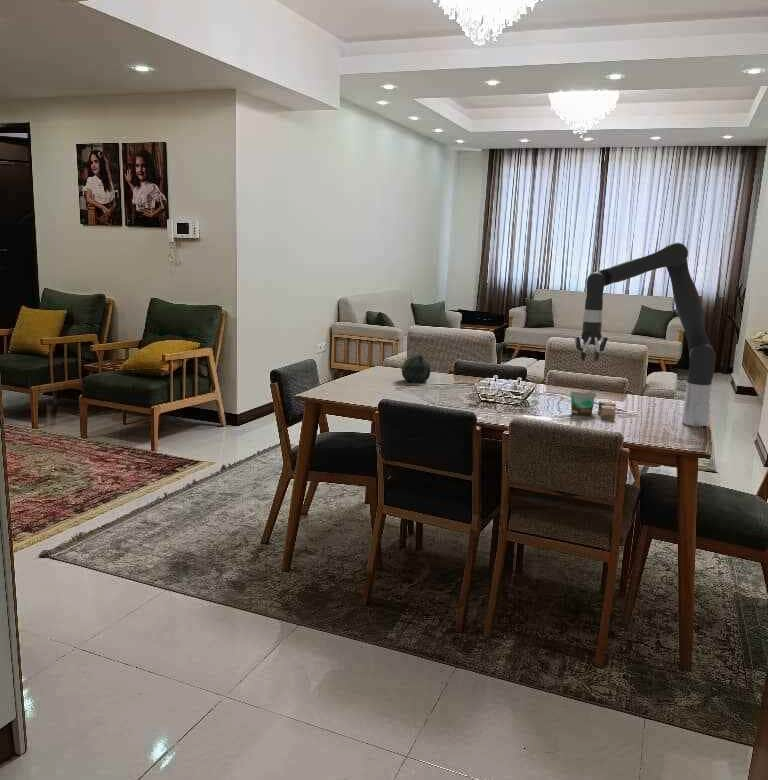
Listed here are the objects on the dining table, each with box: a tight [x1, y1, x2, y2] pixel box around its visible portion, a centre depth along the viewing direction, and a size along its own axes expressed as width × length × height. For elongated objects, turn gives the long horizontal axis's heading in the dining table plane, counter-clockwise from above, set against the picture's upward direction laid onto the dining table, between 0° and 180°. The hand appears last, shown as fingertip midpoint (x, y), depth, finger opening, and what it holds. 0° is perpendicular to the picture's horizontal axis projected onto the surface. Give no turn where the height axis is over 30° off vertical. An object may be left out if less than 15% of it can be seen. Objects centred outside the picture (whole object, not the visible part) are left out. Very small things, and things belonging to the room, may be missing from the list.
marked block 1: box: [597, 400, 617, 414], centre depth 304 cm, size 5×5×5 cm
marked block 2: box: [599, 405, 616, 421], centre depth 296 cm, size 5×5×5 cm
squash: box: [401, 354, 432, 383], centre depth 365 cm, size 14×15×15 cm
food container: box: [569, 389, 597, 417], centre depth 302 cm, size 12×6×10 cm, turn 114°
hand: (589, 360), depth 298 cm, fingers open, 4 cm apart
